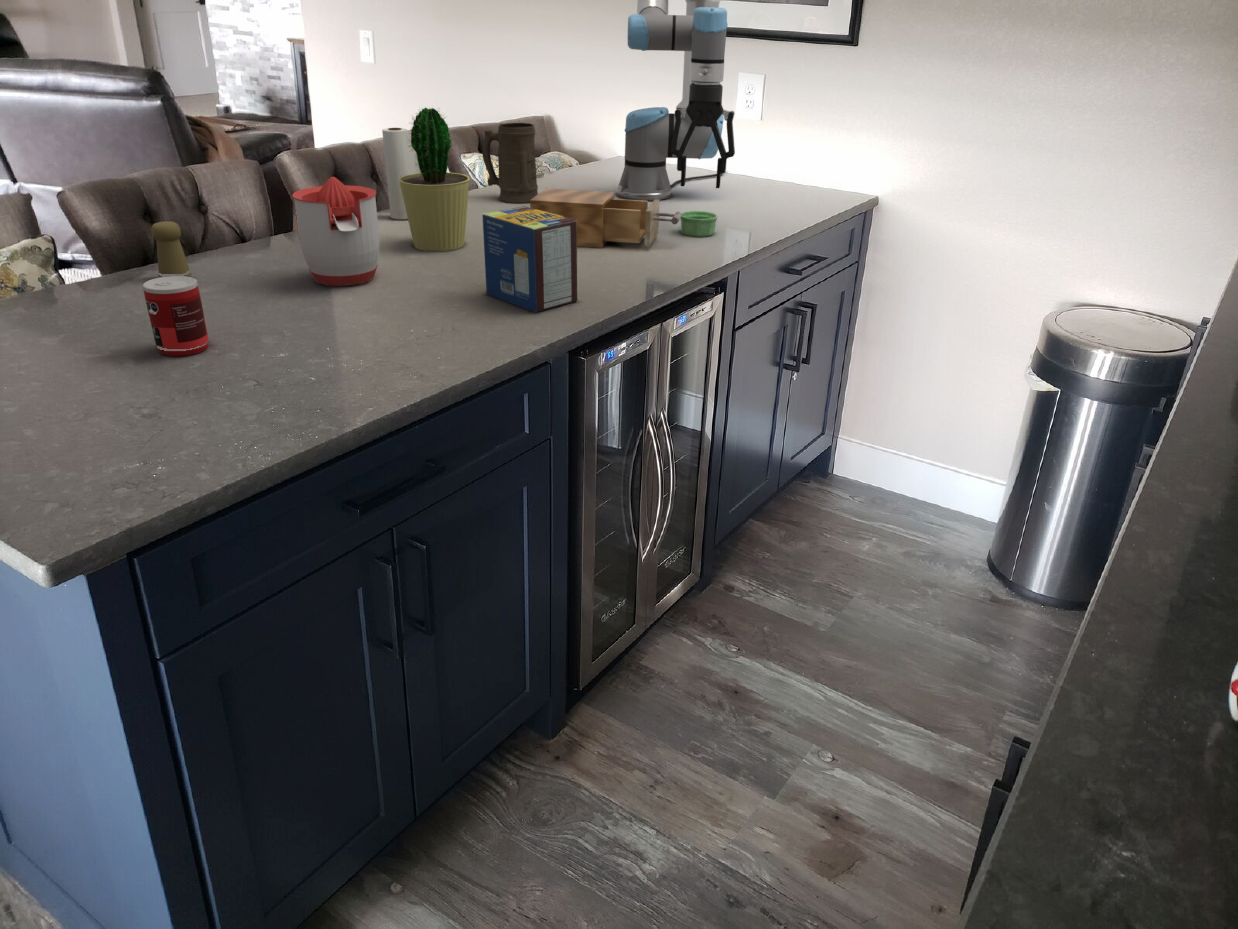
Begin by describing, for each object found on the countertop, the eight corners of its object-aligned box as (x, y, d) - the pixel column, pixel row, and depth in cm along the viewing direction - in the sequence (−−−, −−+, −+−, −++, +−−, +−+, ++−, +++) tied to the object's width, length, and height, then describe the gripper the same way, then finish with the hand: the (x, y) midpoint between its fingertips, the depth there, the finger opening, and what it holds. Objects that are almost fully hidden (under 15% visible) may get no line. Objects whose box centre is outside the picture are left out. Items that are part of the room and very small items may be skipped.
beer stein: (544, 195, 261) (537, 120, 251) (537, 203, 251) (530, 125, 242) (490, 197, 262) (482, 122, 253) (482, 205, 253) (473, 128, 244)
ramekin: (705, 239, 220) (706, 220, 218) (672, 233, 225) (673, 215, 223) (722, 232, 227) (723, 213, 225) (690, 226, 231) (691, 209, 229)
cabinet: (613, 233, 224) (614, 192, 219) (602, 247, 212) (602, 204, 207) (546, 229, 226) (545, 188, 222) (531, 242, 214) (530, 199, 210)
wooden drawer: (682, 234, 220) (684, 201, 216) (675, 248, 209) (676, 212, 205) (594, 229, 224) (594, 195, 220) (582, 241, 213) (582, 206, 209)
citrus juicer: (314, 297, 176) (300, 189, 166) (297, 273, 189) (282, 172, 180) (396, 287, 182) (386, 182, 173) (373, 264, 196) (363, 166, 186)
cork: (198, 275, 187) (188, 220, 181) (177, 283, 181) (165, 227, 176) (174, 272, 188) (163, 217, 183) (152, 280, 183) (139, 224, 178)
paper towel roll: (385, 218, 233) (376, 129, 223) (399, 213, 238) (391, 126, 228) (410, 221, 231) (402, 131, 221) (423, 216, 236) (416, 128, 226)
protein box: (526, 283, 186) (524, 205, 179) (578, 301, 176) (578, 219, 169) (484, 294, 179) (480, 212, 172) (536, 313, 170) (533, 228, 162)
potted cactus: (487, 245, 212) (480, 105, 198) (432, 257, 202) (421, 110, 188) (445, 233, 221) (436, 98, 207) (391, 244, 211) (377, 103, 197)
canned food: (166, 340, 153) (152, 275, 148) (216, 340, 154) (203, 275, 149) (149, 357, 147) (134, 289, 142) (201, 356, 147) (188, 289, 142)
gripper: (659, 82, 209) (655, 186, 219) (750, 86, 205) (742, 191, 216) (664, 79, 215) (660, 180, 226) (753, 83, 212) (744, 185, 222)
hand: (700, 186), depth 221 cm, fingers open, 8 cm apart
